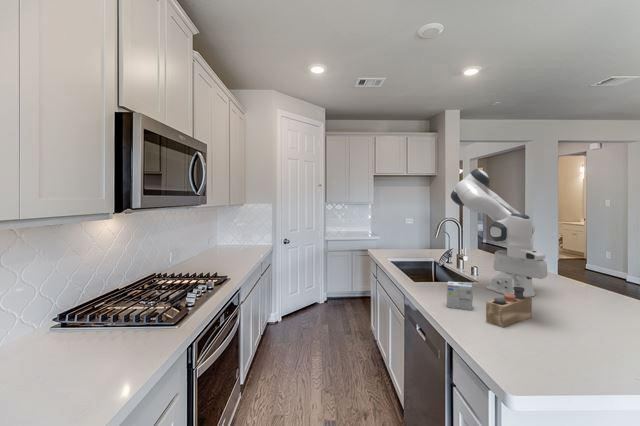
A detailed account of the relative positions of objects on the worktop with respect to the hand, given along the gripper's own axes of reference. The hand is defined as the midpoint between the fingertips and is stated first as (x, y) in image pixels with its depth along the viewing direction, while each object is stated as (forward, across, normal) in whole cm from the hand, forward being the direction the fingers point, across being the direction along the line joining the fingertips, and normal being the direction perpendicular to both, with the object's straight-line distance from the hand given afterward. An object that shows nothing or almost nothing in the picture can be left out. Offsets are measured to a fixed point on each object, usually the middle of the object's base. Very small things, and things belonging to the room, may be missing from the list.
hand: (518, 285), depth 135 cm
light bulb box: (+13, -20, -11) cm, 27 cm away
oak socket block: (+13, 0, -7) cm, 15 cm away
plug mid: (+11, 0, -7) cm, 13 cm away
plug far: (+9, 0, 0) cm, 9 cm away
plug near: (+12, 0, -14) cm, 18 cm away
